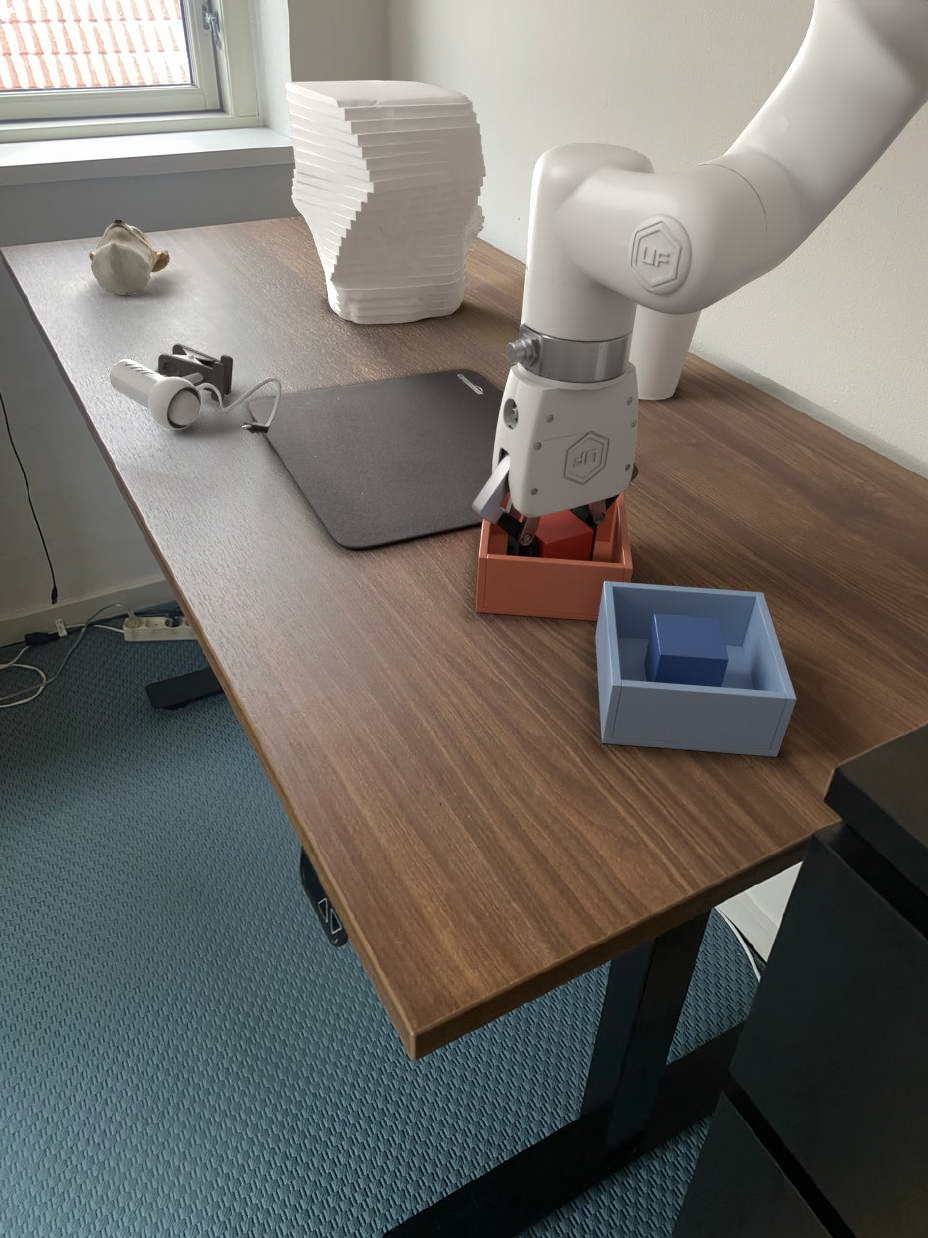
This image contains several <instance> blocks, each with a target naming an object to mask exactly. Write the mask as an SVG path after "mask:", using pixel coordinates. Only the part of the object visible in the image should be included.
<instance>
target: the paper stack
mask: <svg viewBox="0 0 928 1238" xmlns="http://www.w3.org/2000/svg"><path fill="white" fill-rule="evenodd" d="M284 89H285V94H286V95H285V96H286V101H287V108H288V109H287V111H288V113H289V114H290V115H289V118H290V130H291V131H290V133H291V143H292V150H293V159H294V164H295V165H294V167H295V169H293V170H292V171H293V177H292V179H291V180H292V186H291V193H292V194H290V196H291V200H292V203H293V206H294V207H295V209H296V210H297V211H298V212H299V214H301V215H302V216H303V217H304V220H305V222H306V224H307V226H308V228H309V230H310V232H311V235H312V238H313V242H314V244H315V247H316V249H317V254H318V256H319V260H320V262H321V265H322V268H323V271H324V274H325V280H326V287H327V295H328V297H327V298H328V303H329V306H330V308H331V310H332V311H333V312H334V313H336V314H337V315H338V317H340V318H341V319H342V320H345V321H350V322H353V323H355V324H358V325H380V324H381V325H387V324H405V323H412V322H417V321H420V320H422V319H423V320H424V319H427V318H439V317H445V316H450V315H452V314H454V313H455V312H456V311H458V309H460V306H461V305H462V302H463V300H464V299H465V296H466V292H467V281H466V275H465V274H466V273H465V272H466V270H465V269H466V261H467V259H468V256H469V252H468V249H469V247H470V246H471V245H473V244H476V242H477V240H478V239H479V238H478V236H479V234H480V233H481V232H482V231H483V230H484V226H483V225H484V222H485V219H486V216H484V215H483V207H482V205H479V197H481V196H482V195H481V194H482V193H481V188H482V187H484V177H486V176H487V175H486V174H487V173H486V172H487V171H486V165H485V160H484V159H485V158H484V154H483V144H482V135H481V124H480V123H478V121H477V112H476V111H474V105H473V101H472V100H471V99H469V97H468V96H467V95H465V94H464V93H462V92H459V91H455V90H452V89H451V90H450V89H447V88H444V87H442V86H441V85H438V84H437V85H436V84H431V83H426V82H421V81H413V80H412V81H408V80H376V79H369V80H368V79H366V80H363V79H362V80H320V81H318V80H317V81H315V80H314V81H286V82H285V85H284Z"/></svg>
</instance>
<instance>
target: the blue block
mask: <svg viewBox="0 0 928 1238" xmlns="http://www.w3.org/2000/svg"><path fill="white" fill-rule="evenodd" d="M728 661H729V658H728V654H727V650H726V646H725V641H724V637H723V633H722V629H721V625H720V621H719V619H718V618H706V617H692V616H679V615H665V614H654V617H653V622H652V627H651V632H650V637H649V642H648V647H647V652H646V656H645V661H644V665H645V673H646V681H647V682H657V683H670V684H683V685H696V686H709V687H722V683H723V679H724V676H725V672H726V668H727V665H728Z"/></svg>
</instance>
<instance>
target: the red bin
mask: <svg viewBox="0 0 928 1238" xmlns="http://www.w3.org/2000/svg"><path fill="white" fill-rule="evenodd" d="M509 498H510V493H507V495H506V496H505V498H504V499H503V501H502V502H501V504H500V506H502V507H503V508H504V509H505V510H506V507H507V504H508V501H509ZM625 502H626V501H625V493H624V491H623V492H621V493H620V495H619V496H618V498H617V499H616V500H615V501H614V502H613V504H612V505H611V506H610V507H609V508H608V509H607V511H606V513H607V517H606V519H605V521H604V522H603V523H602V524H600V525H598V526H597V533H596V539H595V546H594V552H593V559H592V561H578V560H564V559H550V558H536V557H522V556H508V555H506V554H507V541H508V533H507V532H505V531H504V530H503V529H502V528H501V527H499V526H497V525H494V524H492V523H490V522H488V521H486V520H484V519H483V523H481V533H480V541H479V542H480V543H479V552H478V561H477V563H478V564H477V578H476V579H477V582H476V599H475V612H476V613H482V614H484V613H485V614H495V615H496V614H497V615H507V616H509V615H510V616H521V617H522V616H523V617H535V618H536V617H537V618H550V619H563V620H578V621H592V622H598V616H599V609H600V603H601V597H602V590H603V584H604V581H610V582H625V583H632V576H633V572H634V571H633V570H634V566H633V557H632V549H631V542H630V533H629V527H628V519H627V518H628V517H627V510H626V509H627V508H626V503H625ZM572 509H573V508H572ZM574 509H575V508H574ZM568 510H570V509H568ZM521 515H522V514H521Z"/></svg>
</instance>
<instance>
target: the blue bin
mask: <svg viewBox="0 0 928 1238" xmlns="http://www.w3.org/2000/svg"><path fill="white" fill-rule="evenodd" d="M654 614H665V615H679V616H692V617H706V618H718V619H719V621H720V625H721V629H722V633H723V637H724V641H725V646H726V650H727V654H728V658H729V661H728V665H727V668H726V672H725V676H724V679H723V683H722V687H709V686H696V685H683V684H670V683H657V682H647V681H646V673H645V665H644V661H645V656H646V652H647V647H648V642H649V637H650V632H651V627H652V622H653V617H654ZM772 619H773V618H772V616H771V613H770V610H769V606H768V604H767V600H766V597H765V594H764V592H761V591H748V590H735V589H734V590H733V589H720V588H708V587H707V588H705V587H693V586H678V585H666V584H665V585H664V584H652V583H651V584H649V583H639V582H638V583H635V582H631V583H625V582H610V581H604V584H603V590H602V597H601V603H600V609H599V616H598V621H596V622H597V623H596V628H595V629H596V630H595V637H594V638H595V652H596V654H595V655H596V669H597V685H598V702H599V703H598V704H599V718H600V719H599V720H600V736H601V743H602V744H609V745H623V746H636V747H647V748H659V749H671V750H672V749H673V750H687V751H697V752H698V751H699V752H711V753H712V752H713V753H725V754H736V755H747V756H761V757H762V756H764V757H774V758H776V757H778V754H779V753H780V749H781V746H782V743H783V740H784V738H785V735H786V732H787V728H788V726H789V723H790V720H791V717H792V714H793V711H794V708H795V705H796V702H797V696H796V692H795V689H794V686H793V683H792V680H791V676H790V674H789V670H788V666H787V664H786V661H785V658H784V654H783V651H782V647H781V645H780V642H779V638H778V636H777V632H776V629H775V626H774V622H773V620H772Z"/></svg>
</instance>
